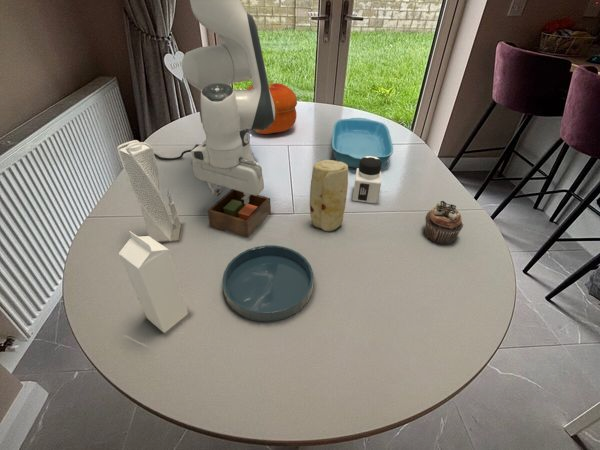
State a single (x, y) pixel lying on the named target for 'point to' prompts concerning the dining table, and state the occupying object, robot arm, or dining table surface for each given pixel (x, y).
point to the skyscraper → (149, 191)
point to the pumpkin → (281, 108)
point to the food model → (328, 194)
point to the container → (368, 180)
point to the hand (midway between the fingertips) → (231, 198)
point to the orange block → (247, 211)
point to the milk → (154, 280)
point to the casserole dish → (361, 141)
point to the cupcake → (443, 223)
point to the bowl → (268, 283)
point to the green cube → (233, 208)
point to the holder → (234, 223)
